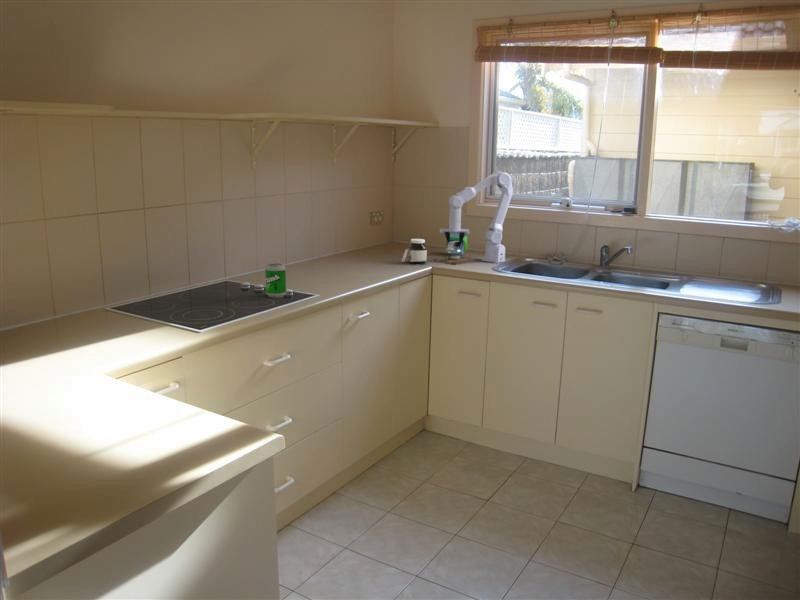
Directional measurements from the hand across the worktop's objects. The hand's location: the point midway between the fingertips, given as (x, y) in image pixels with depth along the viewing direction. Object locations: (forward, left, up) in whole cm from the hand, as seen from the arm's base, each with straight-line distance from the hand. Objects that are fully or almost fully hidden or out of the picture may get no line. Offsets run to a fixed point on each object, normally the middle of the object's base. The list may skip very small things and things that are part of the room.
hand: (454, 247), depth 343 cm
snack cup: (+11, -16, -7) cm, 21 cm away
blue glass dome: (0, 0, -3) cm, 3 cm away
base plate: (0, 0, -7) cm, 7 cm away
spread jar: (+10, +19, -7) cm, 23 cm away
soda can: (-3, +111, -7) cm, 111 cm away
